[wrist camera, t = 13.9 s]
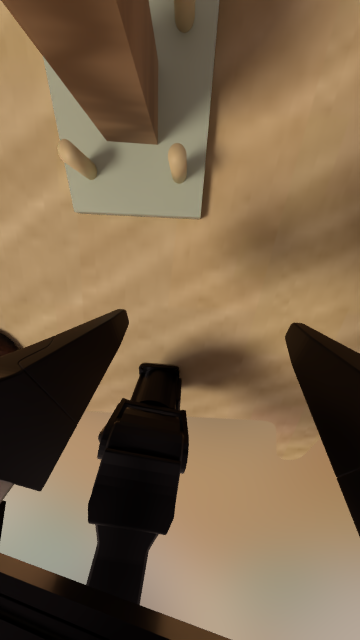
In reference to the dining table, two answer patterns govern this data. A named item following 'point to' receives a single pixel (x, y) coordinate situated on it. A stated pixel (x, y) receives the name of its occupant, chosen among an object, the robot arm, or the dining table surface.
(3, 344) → the bread roll
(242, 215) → the dining table surface
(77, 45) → the walnut block
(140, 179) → the pin plate
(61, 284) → the dining table surface
